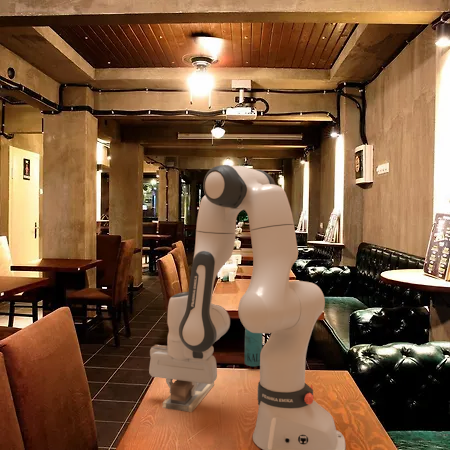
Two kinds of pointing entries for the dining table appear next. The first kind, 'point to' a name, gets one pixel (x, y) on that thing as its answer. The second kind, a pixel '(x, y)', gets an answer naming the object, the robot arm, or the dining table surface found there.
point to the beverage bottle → (252, 348)
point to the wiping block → (181, 392)
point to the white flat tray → (193, 402)
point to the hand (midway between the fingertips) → (182, 394)
